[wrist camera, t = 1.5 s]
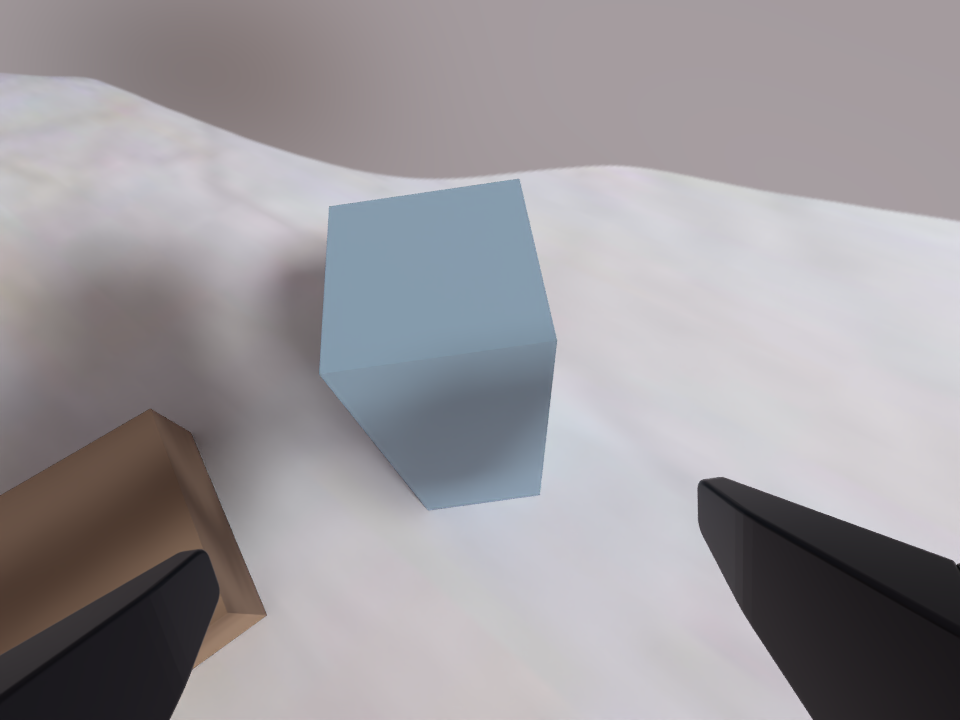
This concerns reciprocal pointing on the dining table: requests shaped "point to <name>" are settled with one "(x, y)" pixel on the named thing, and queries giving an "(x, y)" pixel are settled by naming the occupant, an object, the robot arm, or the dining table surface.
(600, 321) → the dining table surface
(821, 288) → the dining table surface
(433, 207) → the blue block
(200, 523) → the walnut base
